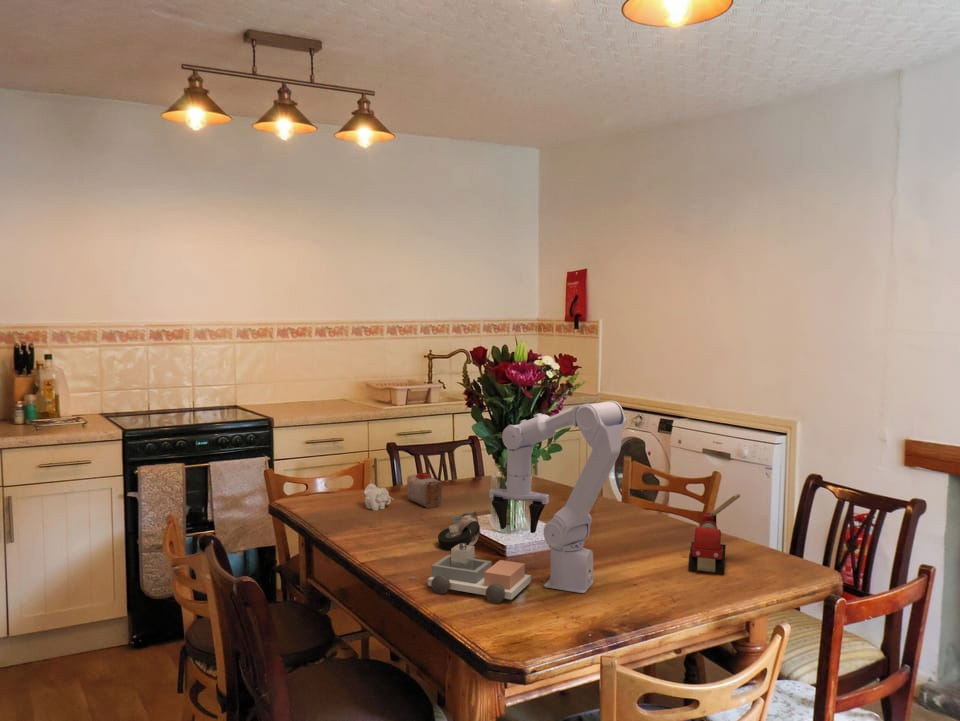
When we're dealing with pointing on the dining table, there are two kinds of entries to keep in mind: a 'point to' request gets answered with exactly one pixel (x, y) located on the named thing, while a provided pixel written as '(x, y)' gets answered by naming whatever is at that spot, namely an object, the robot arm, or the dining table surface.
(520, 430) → the robot arm
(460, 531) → the caster wheel
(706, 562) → the toy fire truck
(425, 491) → the food item
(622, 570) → the dining table surface
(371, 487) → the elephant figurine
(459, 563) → the block
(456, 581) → the chassis
